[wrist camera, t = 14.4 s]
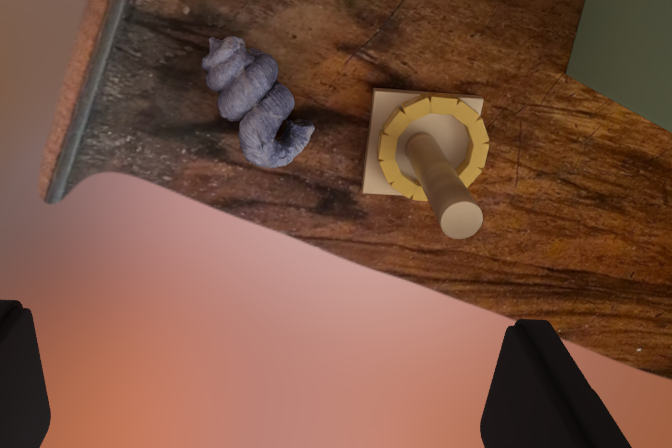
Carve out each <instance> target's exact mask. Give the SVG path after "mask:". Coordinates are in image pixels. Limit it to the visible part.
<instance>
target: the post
mask: <svg viewBox="0 0 672 448" xmlns="http://www.w3.org/2000/svg"><path fill="white" fill-rule="evenodd" d="M424 93H425V94H426V95H427V96H428V93H438V92H424V91H411V90H397V89H384V88H373V94H372V102H371V111H370V119H369V128H368V136H367V144H366V153H365V161H364V170H363V178H362V187H361V188H362V192H363V193H370V194H387V195H403V194H401V193H400V192H398V191H397V190H395V189H394V188H392V187H391V186H390V184H389V183H387V180H386V178H385V176H384V173H383V171H382V169H381V167H380V164H379V162H378V159H377V157H378V156H377V147H378V140H379V133H380V130H383V128H382V125H383V124H384V123H385V122H386V120H387V119H388V118H389V117H390V115H391V114H392V113H393V111H394V110H395V109H396V108H397V107H400V108H401V109H402V107H401V103H403V102H406V101H408V100H410V99H413V98H415V97H417V96H419V95H422V94H424ZM440 94H450V95H454V96H455V97H459V98H460V99H461V100H463V101H464V102H465V103H467V104H468V105H469V106H470V107H472V108H473V109H474V110H476V111H477V113H478V114H479V115H480V114H481V109H482V104H483V98H482V97H481V96H478V95H465V94H451V93H440ZM468 144H469V138H468V135H467V132H466V129H465V126H464V124H462V123H461V122H460V121H459V120H457V119H456V118H455V117H453V116H452V115H443V114H432V113H430V114H428V115H426V116H424V117H421V118H419V119H417V120H414V121H412V122H411V123H410V124H409V125H408V126H407V128H406V129H405V130H404V131H403V133H402V134H401V135H400V136H399V138H398V141H397V147H396V154H395V160H396V162H397V165H398V167H399V169H400V170H401V171H402V172H404V173H405V174H407V175H408V176H409V177H411V178H412V179H414V180H418V181H419V182H420V184H421V186H422V189H423V191H424V193H425V195H426V197H427V199H428V201H429V203H430V205H431V207H432V210H433V212H434V214H435V216H436V218H437V220H438V222H439V224H440V226H441V229H442V230H443V232H444V233H445V234H446V235H447V236H449V237H451V238H454V239H464V238H467V237H470V236H471V235H473V234H474V233H476V232H477V230H478V229H479V228H480V226H481V223H482V219H483V216H482V212H481V210H480V208H479V207H478V205H477V203H476V202H475V200H474V199H473V197H472V196H471V194H470V193H469V191H468V190H467V188H466V186H465V185H464V183H463V182H462V180H461V179H460V177H459V176H458V174H457V172H456V171H455V170H456V169H457V168H458V166H459V165H460V164H461V163H462V162H463V161H464V159H465V157H466V153H467V148H468Z"/></svg>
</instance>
